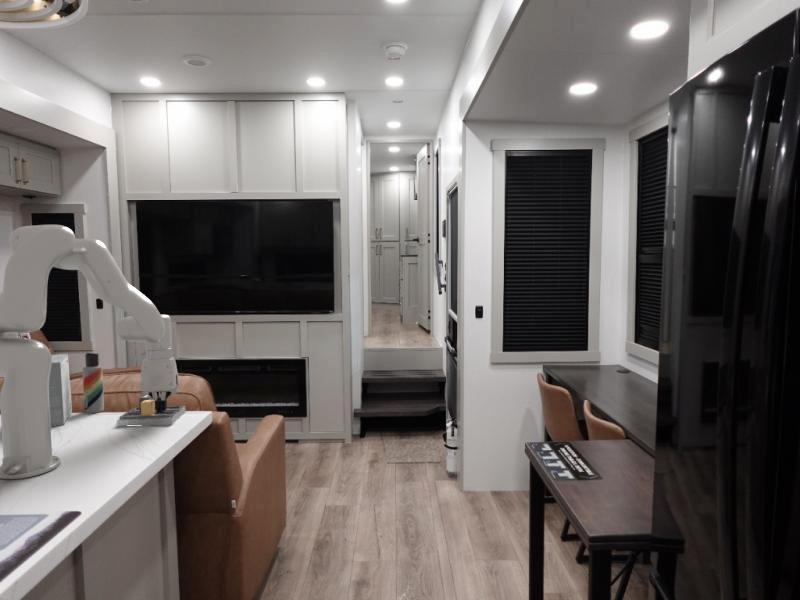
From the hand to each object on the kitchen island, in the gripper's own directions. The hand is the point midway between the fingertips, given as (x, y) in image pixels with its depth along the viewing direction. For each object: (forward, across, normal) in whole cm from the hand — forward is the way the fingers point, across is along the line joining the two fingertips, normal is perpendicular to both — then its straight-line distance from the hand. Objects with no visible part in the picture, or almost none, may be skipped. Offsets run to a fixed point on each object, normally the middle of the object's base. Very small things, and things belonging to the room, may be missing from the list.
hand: (161, 412), depth 162 cm
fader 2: (+1, -4, 0) cm, 4 cm away
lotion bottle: (+3, -27, +15) cm, 31 cm away
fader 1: (+1, -7, +6) cm, 9 cm away
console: (+3, -4, +3) cm, 6 cm away
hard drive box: (+3, -35, +6) cm, 35 cm away
